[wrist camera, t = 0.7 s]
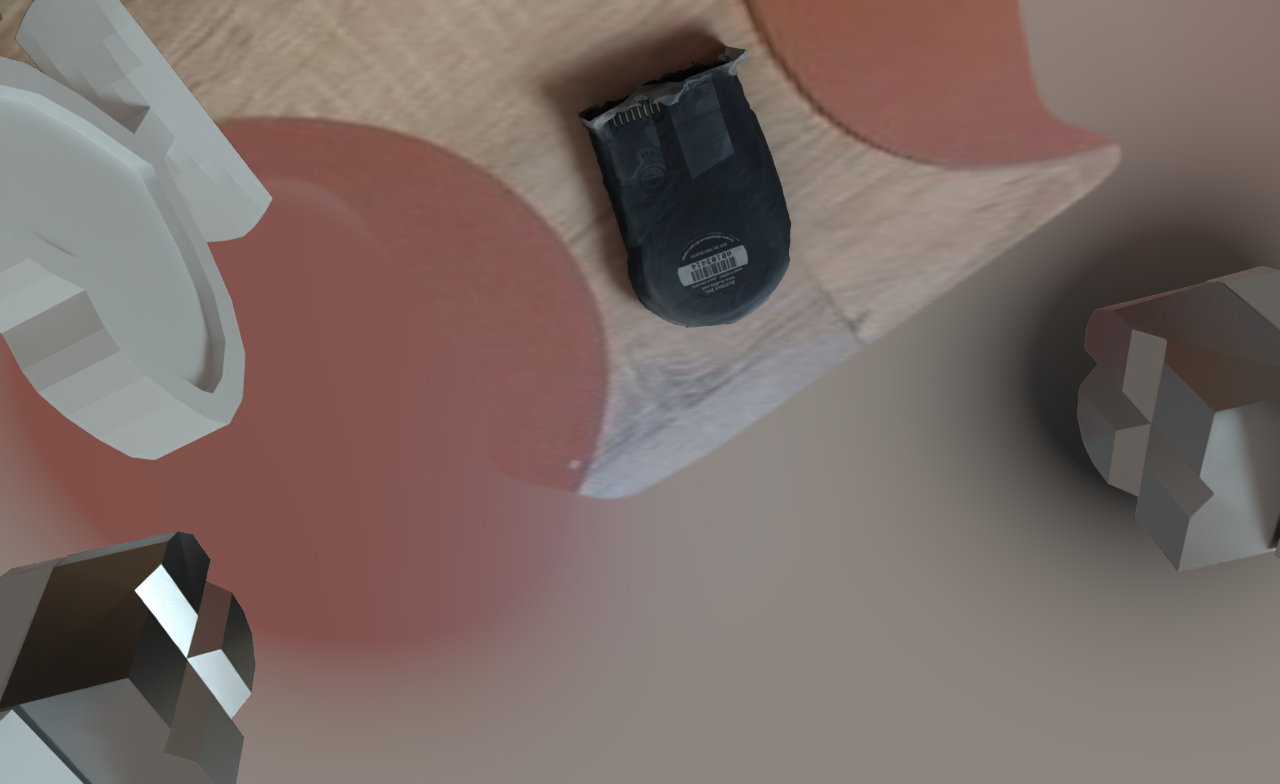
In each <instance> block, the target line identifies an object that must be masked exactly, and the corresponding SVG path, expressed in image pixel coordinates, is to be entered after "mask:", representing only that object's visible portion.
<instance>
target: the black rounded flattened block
mask: <svg viewBox="0 0 1280 784" xmlns="http://www.w3.org/2000/svg"><path fill="white" fill-rule="evenodd" d="M747 52H748V50H745V49H738V48H732V47H728V46H726V49H725V52H724V54H720V55H719V56H718V59H717V60H716V61H715V62H714V63H713V64H710V65H702V64H700V63H698V62H697V63H696V64H695V65H693V66H691V67H689V68H687V69H685V70H679V71H677V72H674V73H667V74H665V75H663V76H662V77H661V78H660V79H659V80H653V81H649V82H647V83H645V84H643V85H642V86H641V87H637V88H636V89H635V91H634V92H633V93H632V94H631V95H629V96H627V97H625V98H623V99H620V100H616V101H613V102H612V101H607V103H606V104H605V105H604V106H603V107H601V108H599V107H598V104H595V105H593V106H591V107H588V108H587V109H586V110H584V111H583V112H578V111H577V113H578V115H579V117H580V120H581V122H582V124H583V125H584V126H585V128H586V129H587V130H588V132H589V136H590V139H591V141H592V145H593V148H594V150H595V153H596V155H597V162H598V164H599V166H600V169H601V172H602V175H603V184H604V186H605V188H606V190H607V191H608V194H609V197H610V200H611V203H612V206H613V209H614V212H615V215H616V218H617V222H618V225H619V228H620V231H621V234H622V238H623V241H624V244H625V246H626V249H627V253H628V262H627V263H628V275H629V279H630V281H631V284H632V287H633V289H634V290H635V292H636V294H637V296H638V299H639V301H640V302H641V303H642V304H643V305H644V307H645V308H647V309H648V310H650V311H652V312H653V313H654V314H656V315H658V316H659V317H661V318H662V319H664V320H666V321H668V322H671V323H673V324H676V325H682V326H686V327H687V328H688V327H701V326H713V325H720V324H732V323H734V322H736V321H738V320H740V319H742V318H743V317H745V316H747V315H749V314H750V313H752V312H753V311H755V310H756V309H757V308H758V307H760V306H761V305H762V304H764V303H765V302H766V301H767V300H769V297H770V295H771V293H772V292H773V291H774V290H775V289H776V287H777V286H778V284H779V283H780V281H781V280H782V278H783V276H784V274H785V272H786V270H787V268H788V265H789V261H790V257H789V247H790V228H791V221H790V218H789V214H788V211H787V207H786V202H785V198H784V194H783V190H782V186H781V182H780V179H779V177H778V174H777V171H776V168H775V165H774V161H773V158H772V155H771V153H770V150H769V148H768V145H767V142H766V139H765V137H764V134H763V132H762V130H761V127H760V125H759V122H758V119H757V117H756V115H755V113H754V112H753V111H752V110H751V109H750V105H749V103H748V101H747V100H746V98H745V96H744V92H743V88H742V85H741V83H740V81H739V79H738V77H737V73H738V72H737V70H736V69H735V67H736V66H737V64H739V63H740V62H743V61H745V60H746V58H745V55H746V54H747ZM693 63H694V62H692V64H693Z"/></svg>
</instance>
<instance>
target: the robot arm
mask: <svg viewBox="0 0 1280 784" xmlns="http://www.w3.org/2000/svg"><path fill="white" fill-rule="evenodd" d="M1084 348H1085V349H1086V350H1087V352H1088V353H1089V354H1090V355H1091V356H1092V357H1093V358H1094V359H1095V361H1096V362H1097V363H1098V364H1097V366H1096V367H1095V368H1094V369H1093V371H1092V372H1091V373H1090V374H1089V376H1088V377H1087V378H1086V379H1085V381H1084V382H1083V383H1082V384H1081V386H1080V387H1079V400H1078V413H1077V416H1078V421H1079V425H1080V430H1081V434H1082V439H1083V443H1084V445H1085V447H1086V449H1087V451H1088V454H1089V456H1090V458H1091V460H1092V462H1093V464H1094V465H1095V467H1096V468H1097V469H1098V471H1099V472H1100V473H1101V475H1102V476H1103V477H1104V478H1105V480H1106V481H1107V483H1108V484H1111V485H1113V486H1115V487H1117V488H1120V489H1122V490H1124V491H1127V492H1129V493H1131V494H1134V495H1136V496H1138V502H1137V510H1136V515H1135V519H1136V520H1137V521H1138V522H1139V524H1140V525H1141V526H1142V527H1143V528H1144V530H1145V531H1146V532H1147V534H1148V535H1149V536H1150V538H1151V539H1152V540H1153V541H1154V543H1155V544H1156V545H1157V546H1158V548H1159V549H1160V550H1161V551H1162V553H1163V554H1164V555H1165V556H1166V558H1167V559H1168V560H1169V561H1170V563H1171V564H1172V565H1173V566H1174V568H1175V569H1176V570H1177V572H1180V571H1185V570H1190V569H1194V568H1199V567H1203V566H1208V565H1213V564H1217V563H1222V562H1226V561H1231V560H1235V559H1240V558H1245V557H1249V556H1254V555H1258V554H1263V553H1267V552H1272V551H1275V554H1274V556H1276V557H1277V558H1279V559H1280V271H1279V270H1276V269H1272V268H1268V267H1264V266H1261V267H1257V268H1254V269H1250V270H1247V271H1242V272H1239V273H1235V274H1231V275H1227V276H1223V277H1220V278H1216V279H1212V280H1208V281H1206V282H1205V283H1204V284H1199V285H1194V286H1190V287H1186V288H1182V289H1178V290H1174V291H1170V292H1166V293H1162V294H1157V295H1154V296H1150V297H1145V298H1141V299H1137V300H1133V301H1129V302H1125V303H1121V304H1117V305H1113V306H1109V307H1105V308H1101V309H1097V310H1095V312H1094V314H1093V316H1092V318H1091V319H1090V321H1089V323H1088V325H1087V331H1086V340H1085V346H1084ZM210 560H211V559H210V558H209V556H208V555H207V554H206V552H205V551H204V549H203V548H202V547H201V545H200V544H199V543H198V541H197V540H196V538H195V537H194V535H193V534H189V533H185V532H180V531H177V532H172V533H167V534H163V535H158V536H153V537H149V538H144V539H140V540H135V541H130V542H126V543H121V544H117V545H112V546H108V547H103V548H98V549H94V550H89V551H85V552H80V553H76V554H71V555H68V556H67V557H64V558H57V559H52V560H48V561H44V562H39V563H34V564H30V565H26V566H21V567H16V568H12V569H10V570H9V571H8V572H6V573H5V574H3V575H2V576H1V577H0V784H236V781H237V775H238V769H239V763H240V758H241V752H242V746H243V740H244V736H243V735H242V734H241V732H240V731H239V729H238V728H237V727H236V725H235V724H234V722H233V721H232V720H231V718H232V717H233V716H234V714H235V713H236V712H237V711H238V709H239V708H240V707H241V706H242V704H243V703H244V702H245V701H246V700H247V698H248V697H249V696H250V695H251V692H252V686H253V679H254V672H255V657H254V647H253V638H252V632H251V629H250V627H249V624H248V622H247V619H246V616H245V613H244V611H243V609H242V607H241V606H240V604H239V603H238V601H237V599H236V598H235V596H234V595H233V594H232V592H230V591H227V590H225V589H223V588H221V587H219V586H216V585H214V584H212V583H210V582H207V581H206V578H207V573H208V569H209V565H210Z"/></svg>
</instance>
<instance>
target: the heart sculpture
mask: <svg viewBox="0 0 1280 784" xmlns="http://www.w3.org/2000/svg"><path fill="white" fill-rule="evenodd" d="M15 40H16V41H17V42H18V44H19V45H20V46H21V47H22V48H23V49H24V50H25V52H26V53H27V54H28V55H29V56H30V57H31V59H32V60H33V61H34V62H35V63H36V64H37V66H38V67H39V68H40V69H41V70H42V71H43V73H44V74H43V73H42V72H40V71H38V70H37V69H35V68H33V67H31V66H30V65H28V64H26V63H23V62H19V61H15V60H12V59H8V58H5V57H1V56H0V333H2V335H3V336H4V338H5V340H6V342H7V344H8V346H9V348H10V349H11V351H12V353H13V355H14V357H15V359H16V361H17V363H18V365H19V366H20V368H21V370H22V371H23V373H24V374H25V376H26V377H27V378H28V380H29V381H30V383H31V384H32V385H33V387H34V388H35V389H36V391H37V392H38V393H39V394H40V395H41V396H42V397H44V399H46V400H47V401H48V402H49V403H50V404H51V405H52V406H54V407H55V408H56V409H57V410H58V411H59V412H60V413H62V414H63V415H64V416H65V417H66V418H68V419H69V420H71V421H72V422H74V423H75V424H77V425H78V426H80V427H81V428H83V429H84V430H85V431H87V432H88V433H90V434H91V435H93V436H94V437H96V438H97V439H99V440H101V441H102V442H104V443H106V444H108V445H110V446H112V447H114V448H116V449H117V450H119V451H121V452H123V453H125V454H127V455H128V456H130V457H135V458H143V459H152V460H156V459H157V458H160V457H162V456H164V455H166V454H168V453H170V452H172V451H174V450H176V449H178V448H180V447H182V446H184V445H186V444H188V443H190V442H192V441H195V440H197V439H199V438H200V437H203V436H204V435H207V434H209V433H211V432H213V431H215V430H217V429H219V428H221V427H223V426H225V425H227V424H229V423H230V422H231V420H232V418H233V416H234V414H235V412H236V410H237V408H238V406H239V405H240V403H241V401H242V398H243V383H244V368H245V352H244V348H243V345H242V340H241V336H240V332H239V328H238V324H237V321H236V317H235V312H234V308H233V305H232V301H231V298H230V296H229V294H228V291H227V289H226V287H225V284H224V282H223V280H222V277H221V275H220V273H219V271H218V268H217V266H216V264H215V262H214V259H213V257H212V255H211V253H210V250H209V248H208V245H207V243H206V242H212V241H225V240H231V239H234V238H239V237H243V236H244V235H246V234H247V233H248V232H249V231H250V230H251V229H252V228H253V227H255V225H256V224H257V223H258V221H259V220H260V218H261V217H262V216H263V214H264V213H265V211H266V209H267V208H268V206H269V204H270V202H271V200H272V197H271V196H270V194H269V193H268V192H267V191H266V189H265V188H264V187H263V185H262V184H261V183H260V182H259V180H258V179H257V178H256V176H255V175H254V174H253V172H252V171H251V170H250V169H249V167H248V166H247V165H246V163H245V162H244V161H243V160H242V158H241V157H240V156H239V154H238V153H237V152H236V150H235V149H234V148H233V147H232V145H231V144H230V143H229V141H228V140H227V139H226V138H225V136H224V135H223V134H222V132H221V131H220V130H219V128H218V127H217V126H216V125H215V123H214V122H213V121H212V119H211V118H210V117H209V116H208V114H207V113H206V112H205V110H204V109H203V108H202V106H201V105H200V104H199V103H198V101H197V100H196V99H195V97H194V96H193V95H192V94H191V92H190V91H189V90H188V88H187V87H186V86H185V84H184V83H183V82H182V81H181V79H180V78H179V77H178V75H177V74H176V73H175V72H174V70H173V69H172V68H171V66H170V65H169V64H168V62H167V61H166V60H165V59H164V57H163V56H162V55H161V53H160V52H159V51H158V50H157V48H156V47H155V46H154V44H153V43H152V42H151V40H150V39H149V38H148V37H147V35H146V34H145V33H144V31H143V30H142V29H141V28H140V26H139V25H138V24H137V22H136V21H135V20H134V18H133V17H132V16H131V15H130V13H129V12H128V11H127V9H126V8H125V7H124V6H123V4H122V3H121V2H120V0H35V1H34V2H33V3H32V4H31V6H30V7H29V9H28V11H27V13H26V15H25V16H24V18H23V20H22V22H21V25H20V27H19V30H18V33H17V35H16V38H15Z"/></svg>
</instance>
